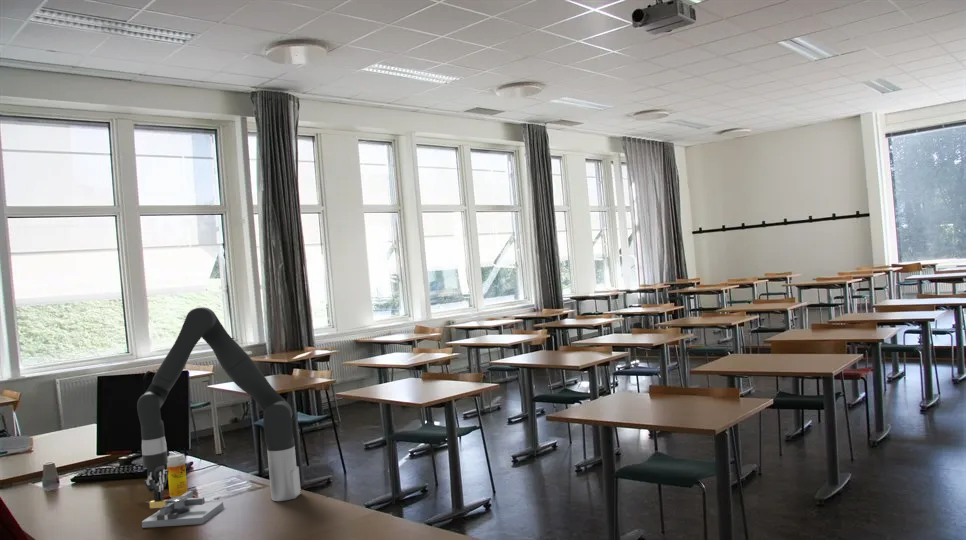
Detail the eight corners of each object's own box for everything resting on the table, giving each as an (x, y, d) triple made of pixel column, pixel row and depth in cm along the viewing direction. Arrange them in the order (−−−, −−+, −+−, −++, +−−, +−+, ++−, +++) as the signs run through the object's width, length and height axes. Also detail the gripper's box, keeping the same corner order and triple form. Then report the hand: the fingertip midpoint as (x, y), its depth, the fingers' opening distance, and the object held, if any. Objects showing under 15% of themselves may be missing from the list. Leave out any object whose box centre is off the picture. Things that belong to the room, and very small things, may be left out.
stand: (223, 507, 233) (222, 497, 233) (202, 523, 218) (201, 513, 218) (167, 511, 235) (166, 501, 235) (142, 527, 220) (141, 517, 220)
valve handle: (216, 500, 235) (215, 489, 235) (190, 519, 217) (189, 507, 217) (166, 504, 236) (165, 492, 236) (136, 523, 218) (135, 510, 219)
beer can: (180, 499, 249) (177, 457, 249) (166, 499, 250) (162, 458, 250) (191, 493, 255) (187, 453, 255) (176, 493, 256) (173, 453, 256)
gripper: (156, 455, 224) (160, 508, 224) (174, 445, 237) (178, 495, 237) (133, 457, 224) (137, 510, 224) (153, 447, 237) (157, 497, 237)
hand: (158, 502), depth 230 cm, fingers closed
